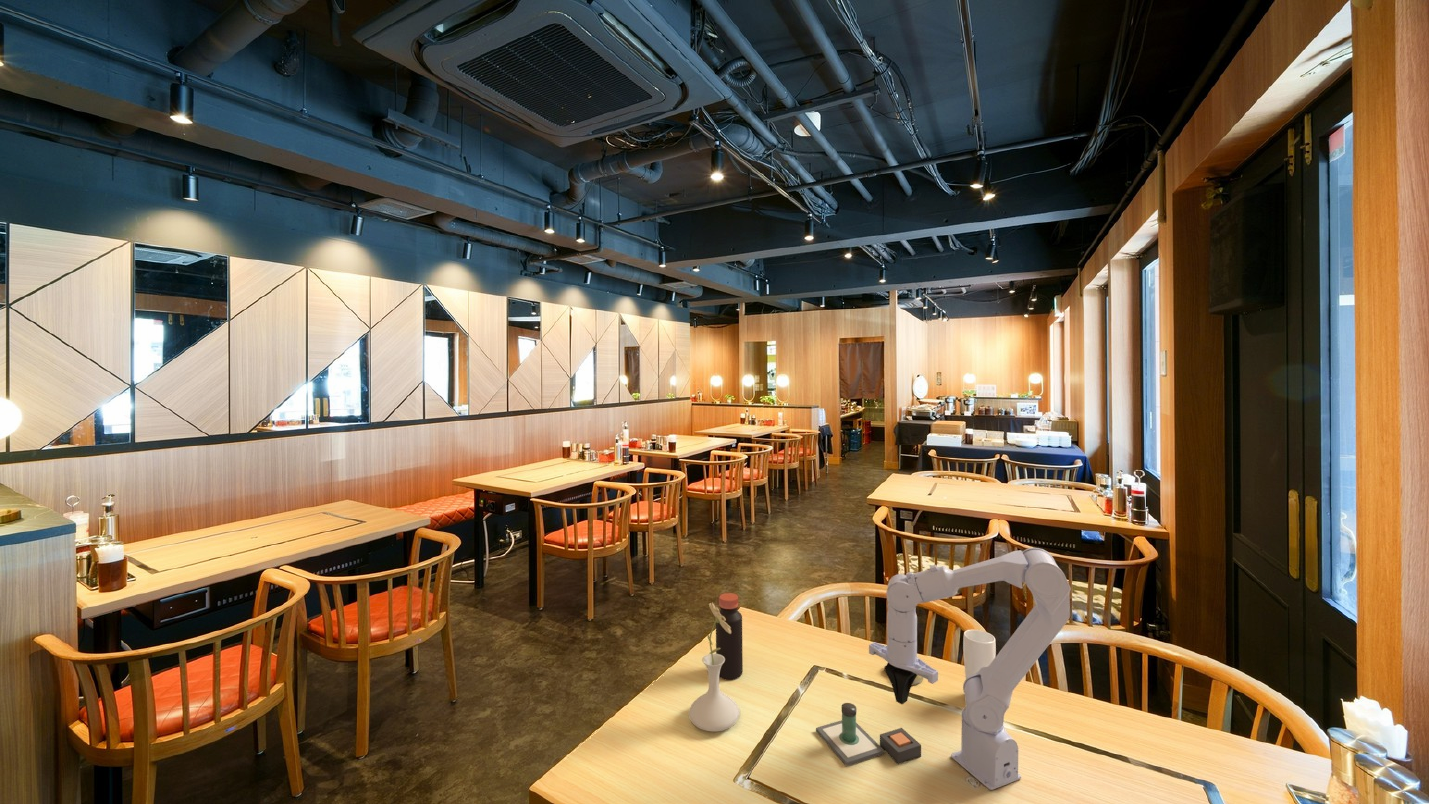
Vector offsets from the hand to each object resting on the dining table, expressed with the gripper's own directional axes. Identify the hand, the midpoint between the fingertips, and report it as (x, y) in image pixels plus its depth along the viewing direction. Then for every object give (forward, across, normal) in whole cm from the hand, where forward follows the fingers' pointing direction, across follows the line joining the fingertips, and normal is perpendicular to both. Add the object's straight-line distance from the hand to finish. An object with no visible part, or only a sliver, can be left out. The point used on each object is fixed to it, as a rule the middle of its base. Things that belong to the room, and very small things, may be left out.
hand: (901, 701), depth 107 cm
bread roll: (+10, +14, -24) cm, 29 cm away
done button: (+8, -1, +2) cm, 9 cm away
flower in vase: (+10, +31, +25) cm, 41 cm away
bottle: (+10, +43, +11) cm, 45 cm away
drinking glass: (+10, -2, -28) cm, 30 cm away
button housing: (+9, -1, +2) cm, 10 cm away
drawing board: (+9, +7, +8) cm, 14 cm away
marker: (+8, +7, +8) cm, 13 cm away
